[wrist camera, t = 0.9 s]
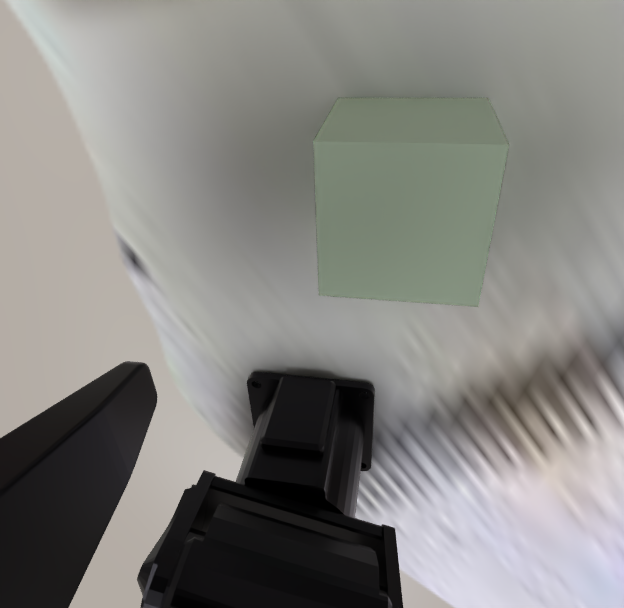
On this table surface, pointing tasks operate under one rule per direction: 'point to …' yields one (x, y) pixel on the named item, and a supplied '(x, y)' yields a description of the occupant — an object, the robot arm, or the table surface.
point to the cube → (407, 198)
